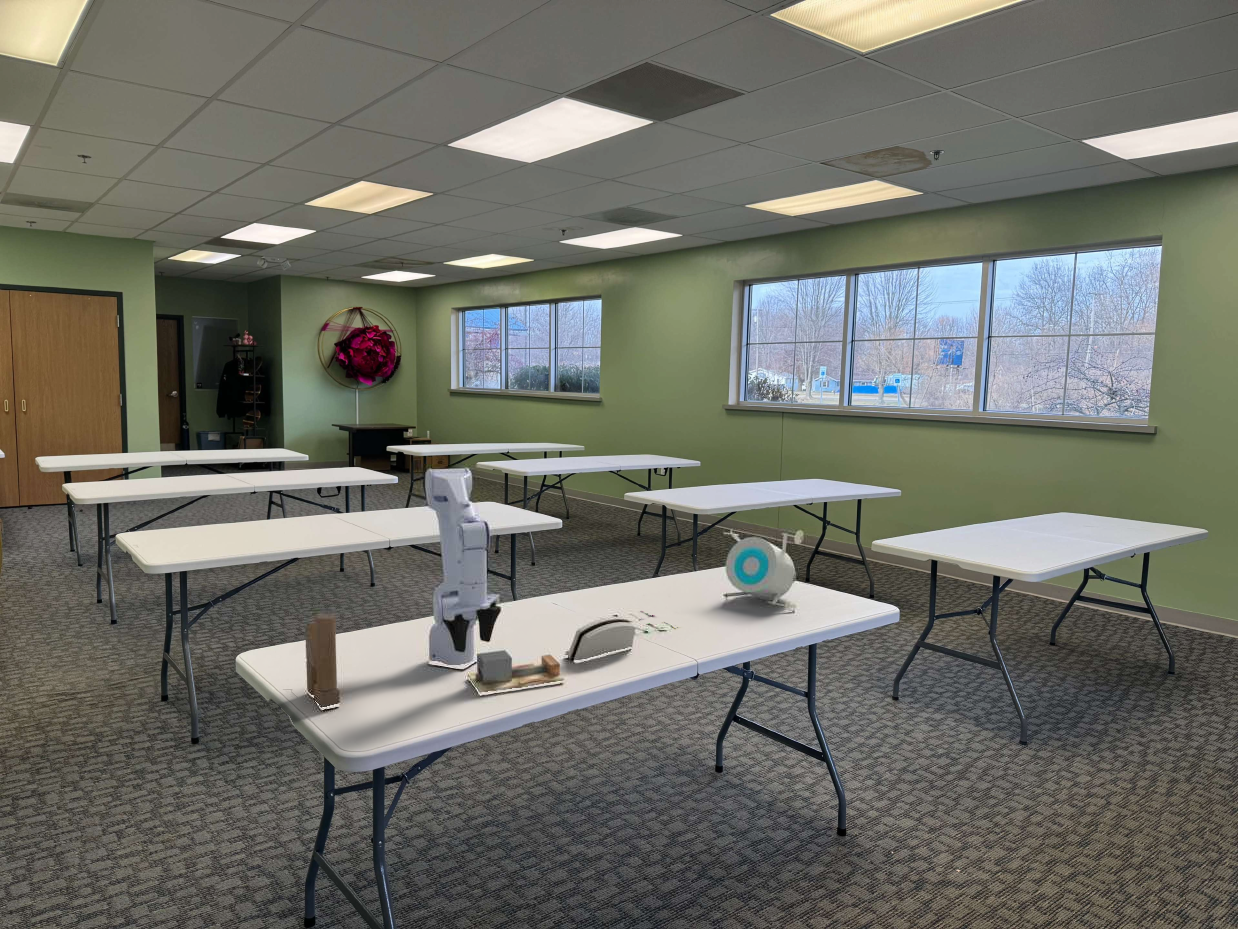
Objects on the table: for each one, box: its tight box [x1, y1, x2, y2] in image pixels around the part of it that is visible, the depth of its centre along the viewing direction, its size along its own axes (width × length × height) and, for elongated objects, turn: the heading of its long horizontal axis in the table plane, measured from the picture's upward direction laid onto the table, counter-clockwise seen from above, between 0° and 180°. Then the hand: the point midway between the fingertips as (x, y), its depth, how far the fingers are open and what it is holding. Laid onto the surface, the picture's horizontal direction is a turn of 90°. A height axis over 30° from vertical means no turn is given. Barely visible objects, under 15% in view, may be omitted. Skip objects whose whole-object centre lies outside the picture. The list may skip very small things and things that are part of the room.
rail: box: [467, 654, 565, 693], centre depth 168 cm, size 18×10×4 cm, turn 114°
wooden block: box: [304, 613, 341, 708], centre depth 156 cm, size 4×11×18 cm, turn 35°
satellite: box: [722, 528, 805, 613], centre depth 232 cm, size 23×20×25 cm
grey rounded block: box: [564, 616, 636, 660], centre depth 185 cm, size 17×5×10 cm, turn 130°
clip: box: [476, 649, 513, 685], centre depth 166 cm, size 6×5×5 cm
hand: (472, 645), depth 164 cm, fingers open, 7 cm apart
